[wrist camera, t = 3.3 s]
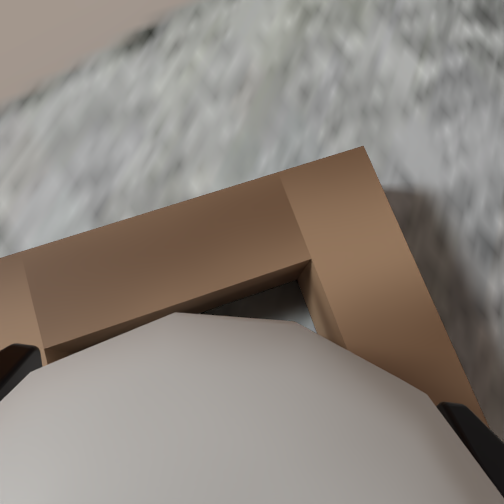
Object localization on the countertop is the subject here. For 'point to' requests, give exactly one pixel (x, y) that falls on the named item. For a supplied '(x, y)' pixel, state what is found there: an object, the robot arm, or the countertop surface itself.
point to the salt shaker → (228, 424)
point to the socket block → (245, 272)
